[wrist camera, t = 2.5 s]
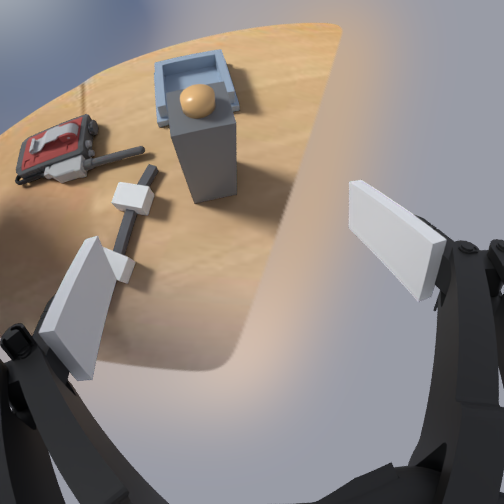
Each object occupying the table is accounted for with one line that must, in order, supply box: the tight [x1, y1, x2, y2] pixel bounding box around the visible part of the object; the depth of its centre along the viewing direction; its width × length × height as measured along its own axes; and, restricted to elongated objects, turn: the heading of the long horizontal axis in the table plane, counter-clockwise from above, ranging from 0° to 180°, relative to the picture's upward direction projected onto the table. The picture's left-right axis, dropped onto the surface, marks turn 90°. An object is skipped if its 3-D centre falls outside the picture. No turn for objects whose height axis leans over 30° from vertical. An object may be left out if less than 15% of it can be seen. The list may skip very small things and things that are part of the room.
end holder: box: [154, 49, 240, 127], centre depth 32 cm, size 10×10×3 cm
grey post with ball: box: [166, 81, 237, 204], centre depth 24 cm, size 4×4×13 cm
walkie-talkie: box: [15, 114, 145, 185], centre depth 29 cm, size 9×4×20 cm
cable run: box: [103, 164, 158, 284], centre depth 27 cm, size 4×16×2 cm, turn 168°
